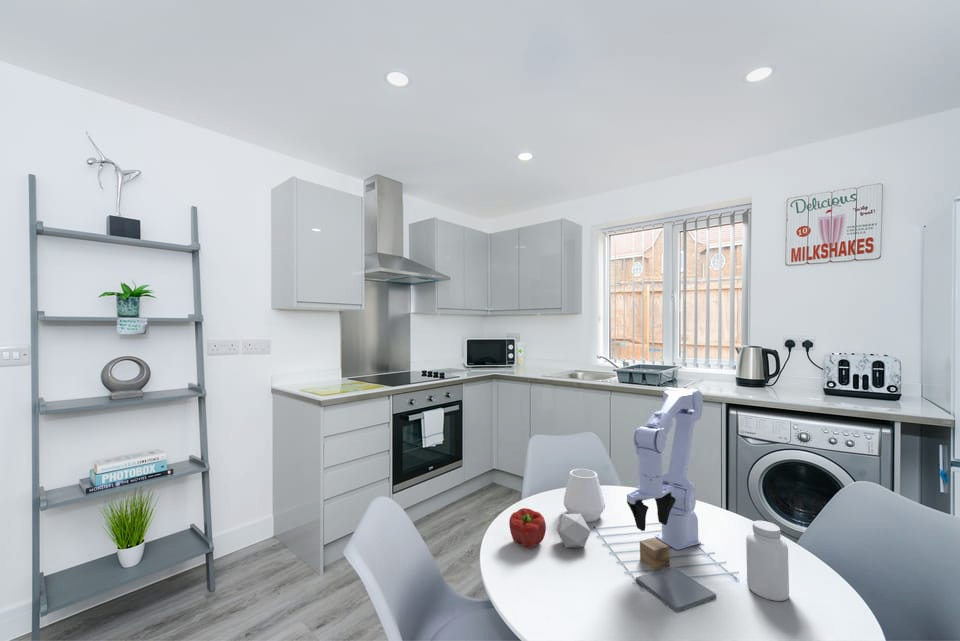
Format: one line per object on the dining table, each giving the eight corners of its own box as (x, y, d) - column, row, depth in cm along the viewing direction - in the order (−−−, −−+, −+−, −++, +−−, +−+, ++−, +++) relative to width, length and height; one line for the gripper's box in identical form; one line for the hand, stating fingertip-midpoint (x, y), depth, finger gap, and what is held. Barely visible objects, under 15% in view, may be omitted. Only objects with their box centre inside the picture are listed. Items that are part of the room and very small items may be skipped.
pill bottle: (791, 607, 88) (789, 536, 89) (747, 594, 92) (745, 528, 93) (787, 587, 95) (785, 522, 95) (746, 576, 99) (744, 514, 100)
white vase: (611, 525, 127) (609, 480, 127) (568, 525, 127) (567, 480, 127) (598, 506, 140) (598, 466, 140) (560, 507, 140) (559, 466, 141)
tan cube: (654, 556, 109) (654, 537, 109) (669, 566, 104) (669, 546, 104) (640, 560, 107) (639, 541, 107) (654, 570, 102) (654, 550, 102)
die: (583, 559, 109) (599, 523, 112) (554, 540, 110) (569, 505, 114) (576, 554, 117) (591, 521, 120) (548, 536, 118) (563, 504, 122)
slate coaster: (673, 569, 103) (672, 566, 103) (716, 597, 91) (716, 593, 91) (635, 580, 98) (635, 577, 98) (676, 611, 87) (676, 608, 87)
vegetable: (548, 555, 110) (547, 518, 110) (510, 555, 110) (509, 518, 110) (543, 535, 120) (543, 501, 121) (509, 535, 121) (508, 501, 121)
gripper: (658, 465, 113) (660, 514, 112) (618, 473, 107) (619, 525, 107) (680, 473, 106) (681, 525, 106) (637, 481, 101) (639, 537, 100)
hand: (651, 526), depth 106 cm, fingers open, 7 cm apart
